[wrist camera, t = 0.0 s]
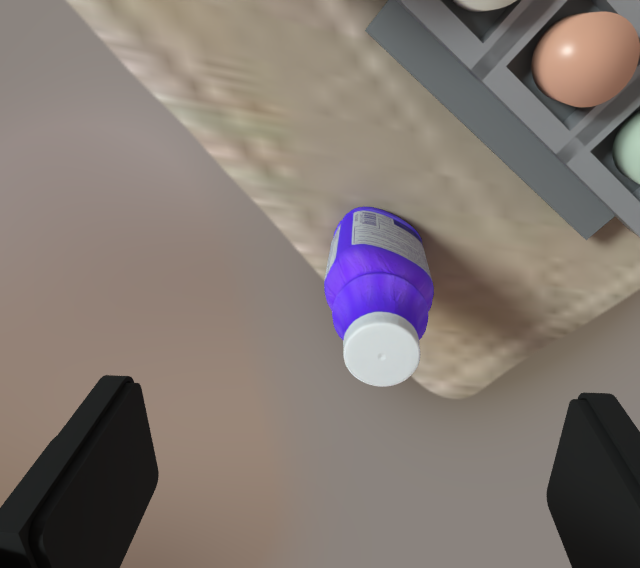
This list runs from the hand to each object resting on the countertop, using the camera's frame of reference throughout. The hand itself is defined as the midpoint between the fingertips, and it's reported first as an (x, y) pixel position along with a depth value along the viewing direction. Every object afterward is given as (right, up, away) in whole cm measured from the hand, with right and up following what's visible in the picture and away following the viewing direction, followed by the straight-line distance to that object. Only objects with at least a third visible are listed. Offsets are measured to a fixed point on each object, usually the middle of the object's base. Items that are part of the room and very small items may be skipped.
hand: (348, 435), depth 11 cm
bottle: (+4, +7, +31) cm, 32 cm away
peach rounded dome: (+15, +17, +20) cm, 31 cm away
